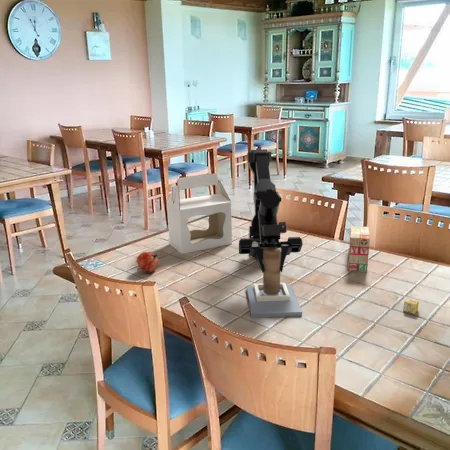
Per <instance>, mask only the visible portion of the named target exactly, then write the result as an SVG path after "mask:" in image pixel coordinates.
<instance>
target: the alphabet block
mask: <svg viewBox="0 0 450 450" xmlns="http://www.w3.org/2000/svg"><path fill="white" fill-rule="evenodd" d="M419 304H420V301H419V300H416V299H412V298H406V299H405V300H404V301H403V312H406V313H410V314H413V315H415V314H416V313H417V312H418V310H419Z"/></svg>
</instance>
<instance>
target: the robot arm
mask: <svg viewBox="0 0 450 450" xmlns="http://www.w3.org/2000/svg"><path fill="white" fill-rule="evenodd" d="M246 162H247V163H248V167H249V169H250V171H251V173H252V174H253V204H254V215H253V217H252V219H251V220H250V225H249V226H248V238H240V239H239V240H238V254H240V255H248V256H250V257H252V258H253V259H254V260H255V261H256V264H257V265H258V267H259V269H260V271H261V273H262V274H263V273H264V266H263V249H264V248H267V247H277V248H279V249H280V250H281V260H280V273H283V269H284V265H285V261H286V258H287V256H290V255H291V253H300V252H301V251H302V247H303V239H302V238H301V237H300V236H289V237H288V238H287V241H280V240H281V234H285V233H287V223H286V221H278V216H277V215H278V214H279V208H280V204H281V202H282V197H281V195H280V194H279V192H278V191H277V189H276V184H274V182H272V180H271V174H270V172H271V171H270V163H272V152H271V151H268V149H263V148H262V149H250V150H249V152H247V153H246ZM278 222H279V223H278Z"/></svg>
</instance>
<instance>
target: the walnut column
mask: <svg viewBox="0 0 450 450" xmlns="http://www.w3.org/2000/svg"><path fill="white" fill-rule="evenodd" d="M280 260H281V248H277V247H267V248H264V249H263V259H262V261H263V266H264V273H262V278H263V279H262V280H263V282H262V283H263V291H264V292H265V293H266V294H277V293H279V292H280V283H281V271H280Z"/></svg>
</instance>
